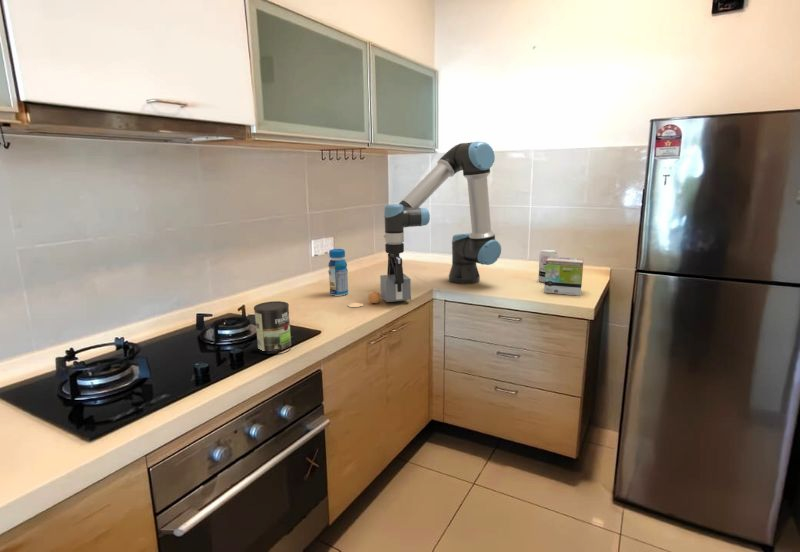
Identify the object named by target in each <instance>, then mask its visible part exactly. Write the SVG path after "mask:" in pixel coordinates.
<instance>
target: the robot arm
mask: <svg viewBox="0 0 800 552" xmlns="http://www.w3.org/2000/svg"><path fill="white" fill-rule="evenodd" d="M495 155H496V154H495V151H494V149H493V148H492V146H491V145H490V144H489V143H487V142H485V141H473V142H471V141H470V142H462V143H461V142H460V143H458V144H456V145H454V146H452V147H451V148H450V149H449V150H448V151H446V153H444V154H443V155H442V156H441V157H440V158H439V159H438V160H437V161H436V163H437V164H436V165H435V166H434V167H433V169H432V170H430V171H429V172H428V174H427V175H426V176H425V177H424V178H423V179H422V180H421V181H419V183H418V184H416V186H414V188H413V189H412V190H411V191H409V193H407V195H406V196H405V197H403V199H402V200H401V201H400V202H399V203H396V204H395V203H394V204H393V203H390V204H389V203H388V204H386V205H385V206H384V214H383V215H384V216H383V217H384V234H383V238H384V241H385V245H384V247H385V249H384V250H385V253H386V254H387V271H386V272H387V274H386V275H392V274H395V279H396V282H395V283H394V284H395V293H396V300H397V299H403V297H402V283H404V278H403V274H404V268H403V258H402V257H401V256H400V254H403V253H404V252H405V244H404V241H405V236H404V235H405V232H404V228H412V227H422V226H427V225H428V224H429V223H430V219H431V215H430V211H429V209H427V207H421V206H422V205H423V204H424V203H425V202H426V201H427V200H428V199H429V198H430V197H431V196H432V195H433V194H434V192H436V191H437V190H438V189H439V188H440V186H442V185H443V183H445V181H447V180H448V178H450V177H454V176H455V175H456V174H457V173H459V172H460V171H462V175H463V177H464V178H466V180H467V191H468V201H469V203H468V205H469V212H470V213H469V214H470V224H471V226H470V227H471V232H468V233H467V232H466V233H459V234H458V233H456V234H453V235H452V240H451V253H452V254H451V255H452V256H451V261H452V262H451V263H452V265H451V267H450V271H449V274H448V281H449V282H450V281H451V282H450V283H453V282H455V283H454V284H460V283H469V284H475V283H479V282H480V281H481V280H480V279H481V276H480V273H479V272H480V271H479V269H478V265H477V264H480V265H483V266H485V265H486V266H489V265H494V264H495V263H496V262H497V261H498V259H500V256H501V254H502V245H501V243H500V242H499V241H498V240H497V239H496V233H495V232H494V231H493V230H492V228H491V227H492V223H491V211H490V201H489V188H488V187H489V186H488V184H489V183H488V176H489V175H490V173H491V168H492V167H493V165H494V163H495V158H496V156H495Z"/></svg>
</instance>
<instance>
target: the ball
mask: <svg viewBox="0 0 800 552" xmlns="http://www.w3.org/2000/svg"><path fill="white" fill-rule="evenodd" d="M381 298H382V296H381V293H379V292H378V291H371V292H370V293H369V294H368V301H369V302H370V303H371V304H373V303H376V304H378V303H380V302H381Z"/></svg>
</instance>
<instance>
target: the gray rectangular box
mask: <svg viewBox="0 0 800 552" xmlns="http://www.w3.org/2000/svg"><path fill="white" fill-rule="evenodd" d="M379 278H380V296H381V298H382V299H383V300H384V301H385V302H386V303H389V302H392V303H393V302H401V301H411V300H412V299H411V298H412V295H411V291H412V290H411V289H412V287H411V278H410V277H409V276H407V275H406V274H405V273H403V278H404V283H402V297H403V299H397V300H396V293H395V284H394V283H395V282H396V279H395V274H392V275H388V274H383V275H382V274H381V275H380V276H379Z"/></svg>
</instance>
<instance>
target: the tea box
mask: <svg viewBox="0 0 800 552" xmlns="http://www.w3.org/2000/svg"><path fill="white" fill-rule="evenodd" d="M583 271H584V258H579V257H564V256H563V257H562V256H560V257H559V256H558V257H549V256H548V258H547V261H546V271H545V283H544V285H543V287H544V289H543V291H544V292H543V293H544V294H559V295H570V296H579V297H580V296H581V293H582V286H583V285H582V284H583Z"/></svg>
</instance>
